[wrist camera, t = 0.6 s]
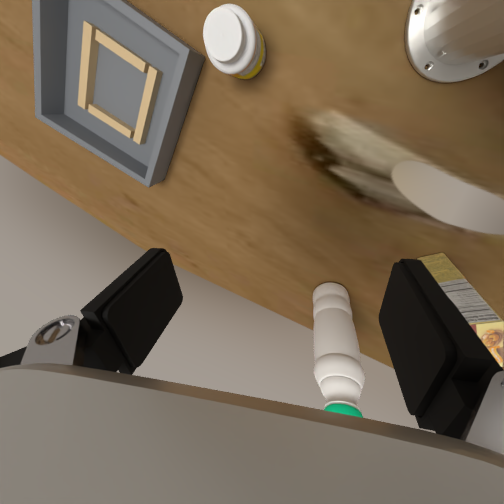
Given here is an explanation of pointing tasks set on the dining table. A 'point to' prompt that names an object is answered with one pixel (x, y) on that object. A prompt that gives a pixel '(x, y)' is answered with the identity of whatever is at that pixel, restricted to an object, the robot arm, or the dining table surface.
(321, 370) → the water bottle
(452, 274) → the candy box
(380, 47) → the dining table surface
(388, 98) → the dining table surface
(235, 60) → the supplement bottle
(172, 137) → the walled box
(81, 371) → the robot arm
